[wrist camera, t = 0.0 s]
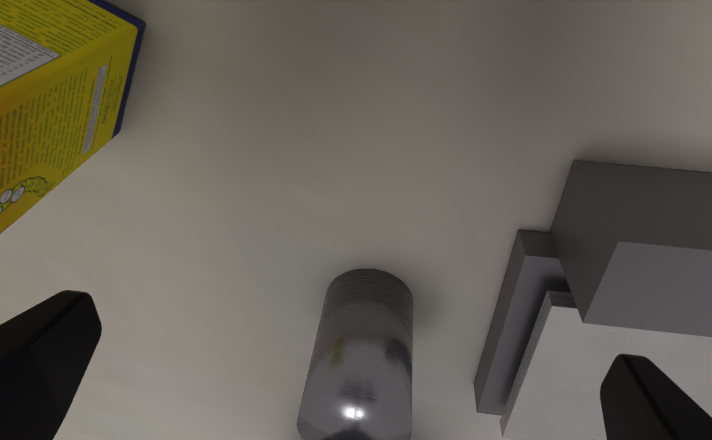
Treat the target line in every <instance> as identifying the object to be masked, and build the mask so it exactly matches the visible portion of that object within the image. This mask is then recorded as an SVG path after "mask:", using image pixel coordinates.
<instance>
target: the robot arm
mask: <svg viewBox="0 0 712 440" xmlns="http://www.w3.org/2000/svg"><path fill="white" fill-rule="evenodd" d="M101 331H102V326H101V322H100V319H99V316H98V313H97V310H96V307H95V304H94V302H93V299H92V297H91V295H89V294H88V293H86V292H80V291H71V290H65V291H62V292H60V293H57V294H56V295H54V296H52V297H50V298H48V299H47V300H45V301H43V302H41V303H39V304H37V305H36V306H34V307H32V308H30V309H28V310H27V311H25V312H23V313H21V314H19V315H17V316H16V317H14V318H12V319H10V320H8V321H6V322H5V323H3V324H1V325H0V440H53V438H54V436H55V435H56V433H57V431H58V429H59V427H60V425H61V424H62V422H63V420H64V418H65V416H66V414H67V412H68V410H69V407H70V405H71V403H72V401H73V399H74V396H75V394H76V392H77V389H78V387H79V385H80V383H81V380H82V378H83V376H84V374H85V371H86V369H87V367H88V364H89V362H90V360H91V358H92V355H93V353H94V351H95V349H96V346H97V344H98V342H99V339H100V336H101ZM600 401H601V407H602V413H603V419H604V426H605V432H606V438H607V440H712V417H711V416H710V415H709V414H708V413H707V412H705V411H704V410H703V409H702V408H701V407H700V406H699V405H698V404H697V403H696V402H695V401H694V400H693V399H692V398H690V397H689V396H688V395H687V394H686V393H685V392H684V391H683V390H682V389H681V388H680V387H679V386H678V385H677V384H675V383H674V382H673V381H672V380H671V379H670V378H669V377H668V376H667V375H666V374H665V373H664V372H663V371H662V370H660V369H659V368H658V367H657V366H656V365H655V364H654V363H653V362H652V361H651V360H649V359H648V358H646V357H644V356H640V355H631V354H619V355H618V356H616V357H615V359H614V361H613V363H612V365H611V366H610V368H609V370H608V372H607V374H606V376H605V378H604V380H603V382H602V384H601V387H600Z"/></svg>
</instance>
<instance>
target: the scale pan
mask: <svg viewBox="0 0 712 440" xmlns="http://www.w3.org/2000/svg"><path fill="white" fill-rule="evenodd" d="M619 354H631V355H640V356H644V357H646V358H648V359H649V360H651V361H652V362H653V363H654V364H655V365H656V366H657V367H658V368H659V369H660V370H662V371H663V372H664V373H665V374H666V375H667V376H668V377H669V378H670V379H671V380H672V381H673V382H674V383H675V384H677V385H678V386H679V387H680V388H681V389H682V390H683V391H684V392H685V393H686V394H687V395H688V396H689V397H690V398H692V399H693V400H694V401H695V402H696V403H697V404H698V405H699V406H700V407H701V408H702V409H703V410H704V411H705V412H707V413H708V414H709V415H710V416H711V417H712V337H705V336H696V335H687V334H677V333H668V332H659V331H650V330H641V329H632V328H623V327H614V326H604V325H595V324H586V323H582V320H581V317H580V315H579V312H578V309H577V307H576V304H575V301H574V298H573V296H572V293H567V292H558V291H548V290H547V292H546V295H545V297H544V300H543V303H542V306H541V309H540V311H539V314H538V317H537V320H536V322H535V325H534V328H533V331H532V333H531V336H530V339H529V342H528V345H527V347H526V350H525V353H524V356H523V358H522V361H521V364H520V367H519V369H518V372H517V375H516V378H515V381H514V383H513V386H512V389H511V392H510V394H509V397H508V400H507V403H506V405H505V408H504V411H503V414H502V417H501V419H500V426H501V433H502V438H509V439H517V440H607V438H606V432H605V426H604V419H603V413H602V407H601V401H600V387H601V384H602V382H603V380H604V378H605V376H606V374H607V372H608V370H609V368H610V366H611V365H612V363H613V361H614V359H615V357H616V356H618V355H619Z"/></svg>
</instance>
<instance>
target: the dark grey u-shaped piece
mask: <svg viewBox="0 0 712 440" xmlns="http://www.w3.org/2000/svg"><path fill="white" fill-rule="evenodd" d="M547 290H548V291H558V292H567V293H572V296H573V298H574V301H575V304H576V307H577V309H578V312H579V315H580V317H581V320H582V323H586V324H595V325H604V326H614V327H623V328H632V329H641V330H650V331H659V332H668V333H677V334H687V335H696V336H705V337H712V173H708V172H697V171H686V170H675V169H664V168H653V167H642V166H631V165H619V164H608V163H597V162H586V161H575V160H574V162H573V165H572V168H571V171H570V174H569V176H568V179H567V182H566V185H565V188H564V191H563V194H562V197H561V200H560V203H559V206H558V209H557V212H556V215H555V218H554V221H553V224H552V227H551V230H550V233H543V232H533V231H523V230H518V233H517V237H516V240H515V244H514V247H513V251H512V254H511V258H510V261H509V264H508V268H507V271H506V275H505V278H504V282H503V285H502V289H501V292H500V296H499V299H498V302H497V306H496V309H495V313H494V316H493V320H492V323H491V327H490V330H489V334H488V337H487V340H486V344H485V347H484V351H483V354H482V358H481V361H480V365H479V368H478V372H477V375H476V378H475V382H474V391H475V400H476V410H477V413H486V414H494V415H502V414H503V411H504V408H505V405H506V403H507V400H508V397H509V394H510V392H511V389H512V386H513V383H514V381H515V378H516V375H517V372H518V369H519V367H520V364H521V361H522V358H523V356H524V353H525V350H526V347H527V345H528V342H529V339H530V336H531V333H532V331H533V328H534V325H535V322H536V320H537V317H538V314H539V311H540V309H541V306H542V303H543V300H544V297H545V295H546V292H547Z"/></svg>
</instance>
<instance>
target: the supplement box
mask: <svg viewBox="0 0 712 440" xmlns="http://www.w3.org/2000/svg"><path fill="white" fill-rule="evenodd" d="M144 26H145V25H144V23H143V22H141V21H139V20H137V19H136V18H134V17H132V16H130V15H128V14H127V13H125V12H123V11H121V10H119V9H117V8H115V7H113V6H111V5H109V4H107V3H105V2H103V1H101V0H0V234H1V233H2V232H3V231H4V230H5V229H6V228H8V227H9V226H10V225H12V224H13V223H14V222H15V221H16V220H17V219H19V218H20V217H21V216H22V215H23V214H24V213H26V212H27V211H28V210H29V209H30V208H31V207H33V206H34V205H35V204H36V203H37V202H38V201H39V200H41V199H42V198H43V197H44V196H45V195H46V194H48V193H49V192H50V191H51V190H53V189H54V188H55V187H56V186H57V185H58V184H59V183H61V182H62V181H63V180H64V179H65V178H66V177H67V176H69V175H70V174H71V173H72V172H73V171H74V170H76V169H77V168H78V167H79V166H80V165H81V164H83V163H84V162H85V161H86V160H88V159H89V158H90V157H91V156H92V155H93V154H94V153H96V152H97V151H98V150H99V149H100V148H101V147H103V146H104V145H105V144H106V143H107V142H109V141H110V140H111V139H112V138H113V137H114V136H116V135H117V134H118V133H119V131H120V129H121V122H122V119H123V113H124V108H125V104H126V101H127V97H128V93H129V89H130V85H131V82H132V76H133V72H134V68H135V64H136V60H137V56H138V52H139V48H140V43H141V36H142V34H143V30H144Z"/></svg>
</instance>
